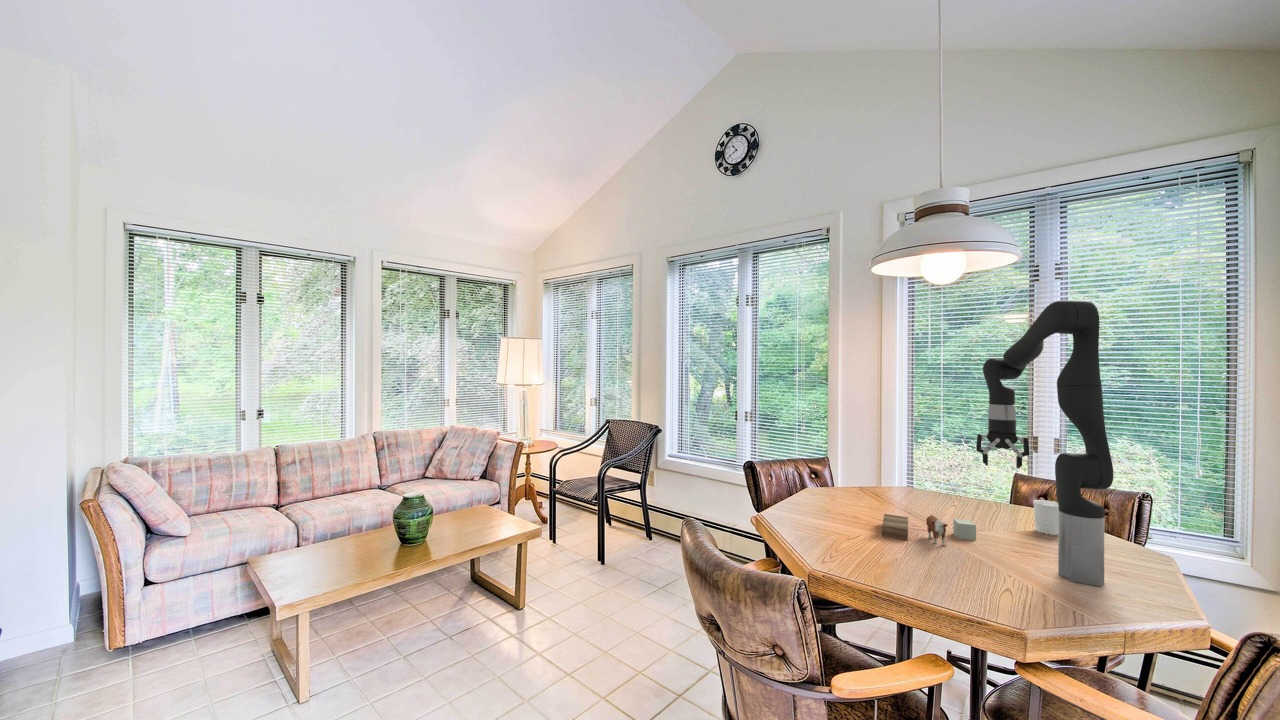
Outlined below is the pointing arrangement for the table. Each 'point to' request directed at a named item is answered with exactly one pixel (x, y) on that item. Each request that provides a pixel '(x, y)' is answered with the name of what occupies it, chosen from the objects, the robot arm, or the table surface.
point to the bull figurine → (936, 529)
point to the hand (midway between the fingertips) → (1002, 466)
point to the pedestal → (895, 527)
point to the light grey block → (1046, 516)
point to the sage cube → (964, 529)
